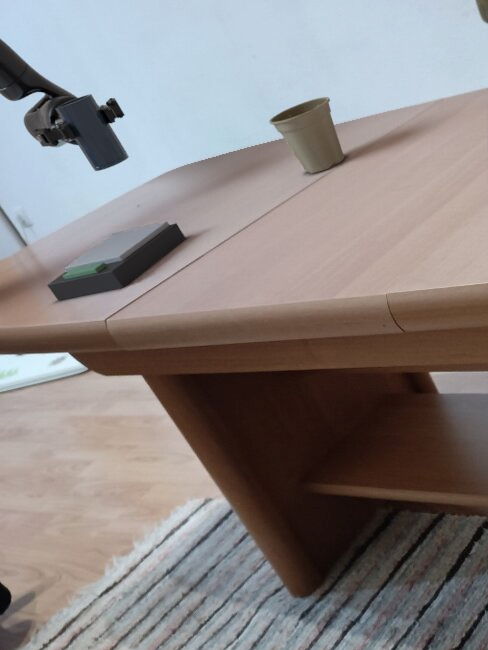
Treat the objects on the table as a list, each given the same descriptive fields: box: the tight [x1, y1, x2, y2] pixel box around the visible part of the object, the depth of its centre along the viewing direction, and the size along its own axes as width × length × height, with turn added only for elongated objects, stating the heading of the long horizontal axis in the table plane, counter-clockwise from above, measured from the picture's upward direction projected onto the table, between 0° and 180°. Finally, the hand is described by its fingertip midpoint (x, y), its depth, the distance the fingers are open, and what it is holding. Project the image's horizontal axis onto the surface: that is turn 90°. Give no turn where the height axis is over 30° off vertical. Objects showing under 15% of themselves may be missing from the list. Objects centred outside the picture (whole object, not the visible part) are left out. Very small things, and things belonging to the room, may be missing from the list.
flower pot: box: [268, 96, 345, 174], centre depth 131 cm, size 9×9×9 cm
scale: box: [46, 221, 187, 301], centre depth 119 cm, size 12×14×3 cm
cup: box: [55, 93, 129, 172], centre depth 136 cm, size 6×6×10 cm
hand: (90, 124), depth 134 cm, fingers closed on cup, 5 cm apart
